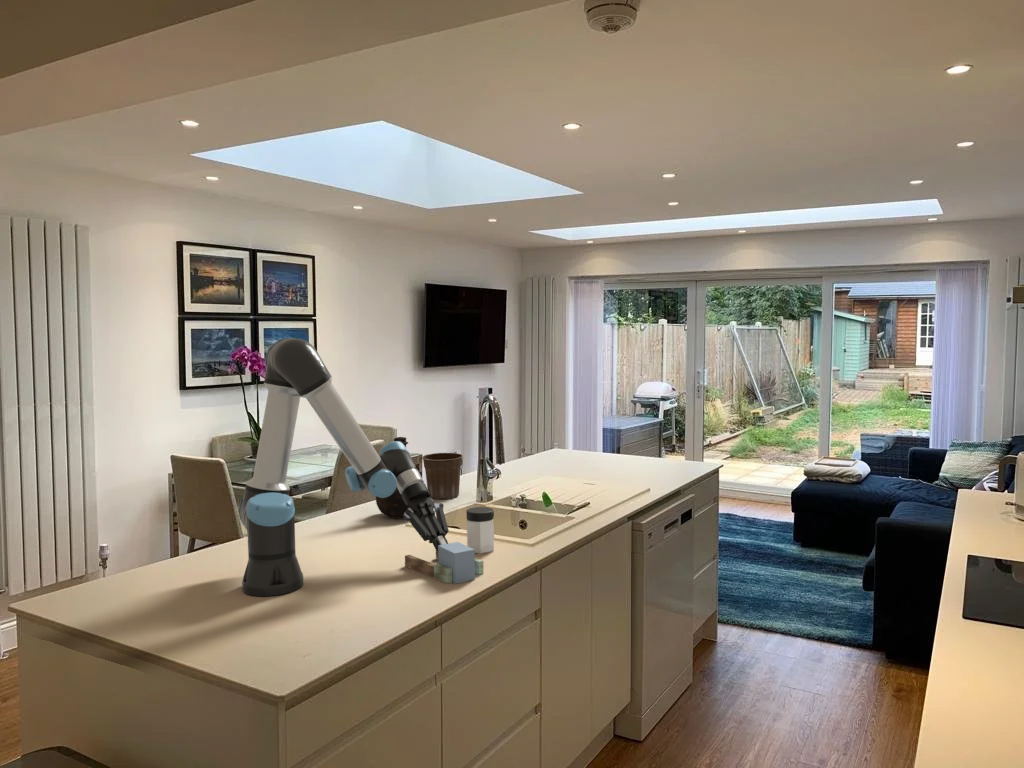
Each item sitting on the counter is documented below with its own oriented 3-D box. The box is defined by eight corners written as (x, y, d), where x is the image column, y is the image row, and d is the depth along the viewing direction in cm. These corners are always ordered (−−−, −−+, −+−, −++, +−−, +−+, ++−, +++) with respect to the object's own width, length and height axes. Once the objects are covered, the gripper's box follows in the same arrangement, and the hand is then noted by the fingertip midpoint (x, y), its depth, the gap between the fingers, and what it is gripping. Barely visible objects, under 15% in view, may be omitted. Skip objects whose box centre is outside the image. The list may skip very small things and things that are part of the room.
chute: (405, 566, 214) (404, 553, 213) (440, 557, 222) (440, 545, 221) (447, 583, 199) (447, 570, 198) (483, 573, 206) (483, 560, 206)
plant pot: (446, 502, 292) (446, 460, 291) (414, 498, 301) (413, 457, 300) (472, 494, 306) (471, 454, 304) (440, 490, 314) (439, 451, 313)
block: (438, 574, 206) (438, 545, 205) (458, 570, 209) (457, 541, 209) (455, 583, 198) (454, 553, 198) (475, 579, 202) (474, 549, 201)
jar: (494, 553, 225) (494, 513, 224) (466, 554, 224) (466, 513, 224) (494, 545, 234) (493, 506, 233) (467, 545, 233) (466, 506, 233)
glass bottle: (386, 524, 260) (384, 442, 258) (369, 513, 276) (367, 436, 274) (434, 517, 269) (432, 438, 267) (415, 507, 285) (413, 432, 283)
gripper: (426, 493, 227) (461, 560, 215) (388, 500, 218) (423, 571, 207) (436, 477, 222) (472, 546, 211) (398, 484, 214) (434, 556, 202)
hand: (448, 558), depth 209 cm, fingers closed
